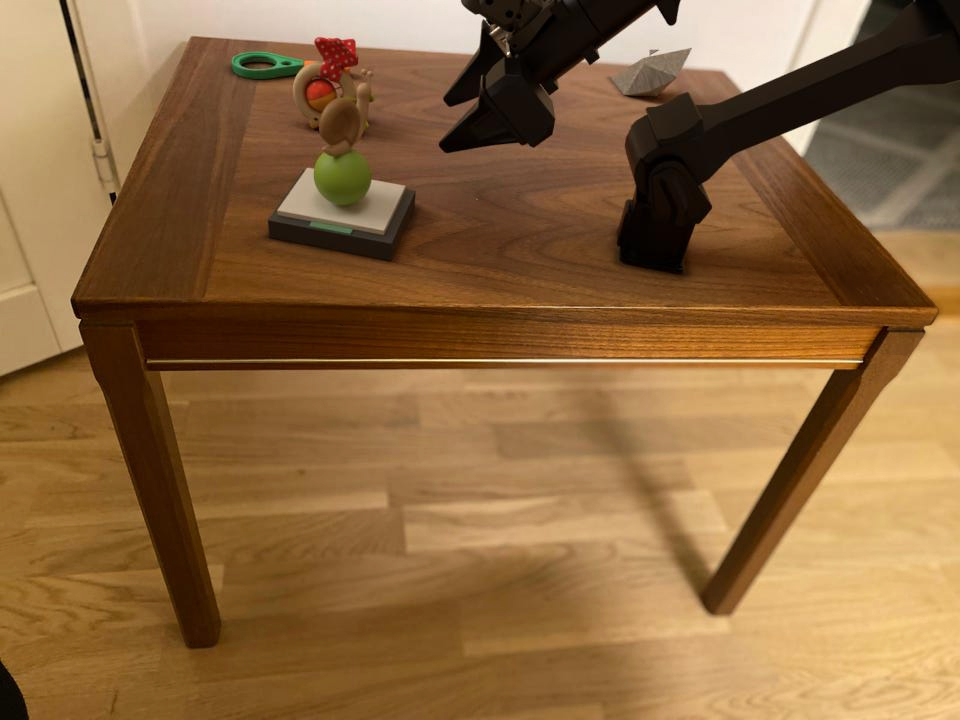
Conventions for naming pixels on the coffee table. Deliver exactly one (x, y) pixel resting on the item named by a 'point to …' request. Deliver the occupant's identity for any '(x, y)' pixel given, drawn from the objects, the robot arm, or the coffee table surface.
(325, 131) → the snail figurine
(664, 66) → the paper boat
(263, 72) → the magnifying glass
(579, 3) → the robot arm
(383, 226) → the scale
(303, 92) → the bird rattle
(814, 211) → the coffee table surface
